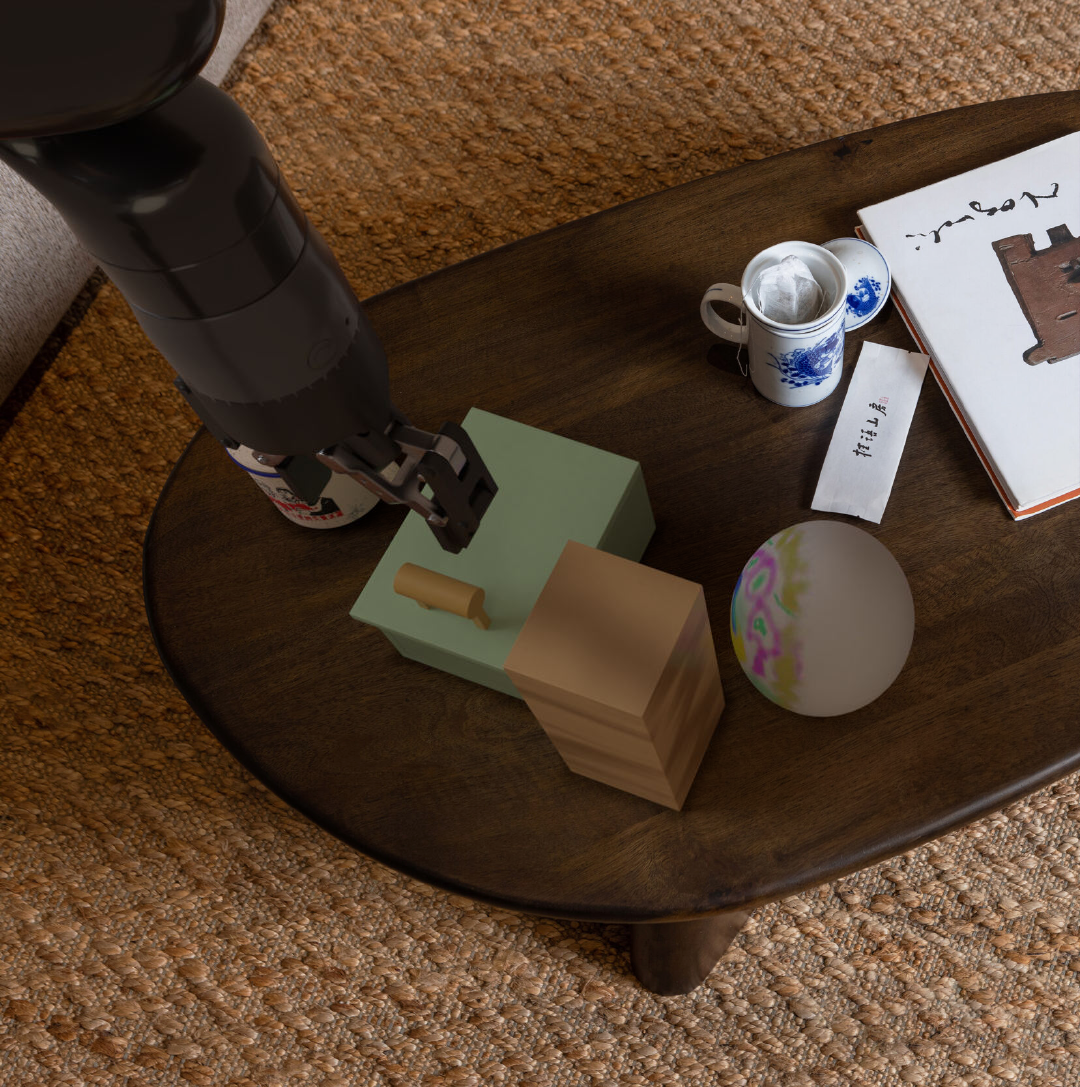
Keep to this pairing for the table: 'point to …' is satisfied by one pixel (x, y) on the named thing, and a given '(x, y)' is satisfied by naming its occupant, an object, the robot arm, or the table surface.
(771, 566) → the decorative egg
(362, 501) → the teacup with lid
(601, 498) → the lid
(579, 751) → the stand
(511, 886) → the table surface
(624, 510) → the chest
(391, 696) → the table surface
